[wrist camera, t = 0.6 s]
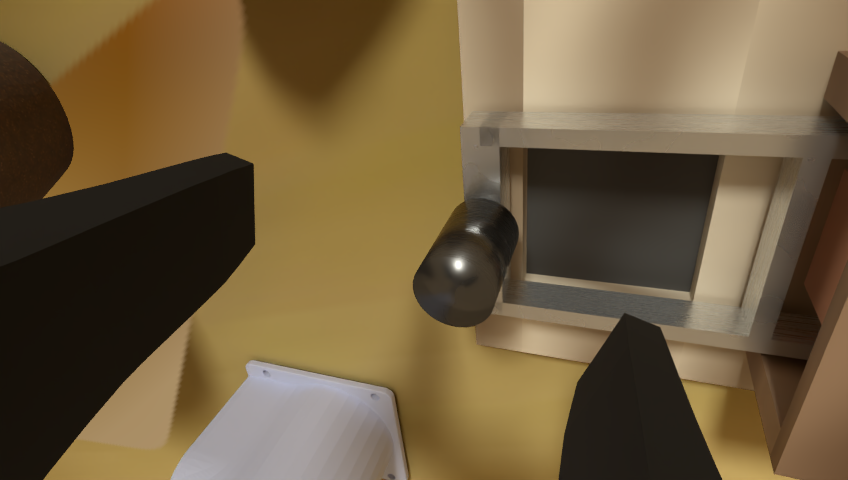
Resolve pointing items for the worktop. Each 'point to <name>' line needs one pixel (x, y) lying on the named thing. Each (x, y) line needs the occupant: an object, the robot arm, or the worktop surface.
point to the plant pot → (29, 132)
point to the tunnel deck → (670, 181)
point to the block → (830, 253)
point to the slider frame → (598, 309)
